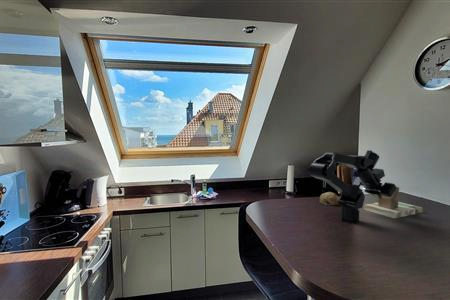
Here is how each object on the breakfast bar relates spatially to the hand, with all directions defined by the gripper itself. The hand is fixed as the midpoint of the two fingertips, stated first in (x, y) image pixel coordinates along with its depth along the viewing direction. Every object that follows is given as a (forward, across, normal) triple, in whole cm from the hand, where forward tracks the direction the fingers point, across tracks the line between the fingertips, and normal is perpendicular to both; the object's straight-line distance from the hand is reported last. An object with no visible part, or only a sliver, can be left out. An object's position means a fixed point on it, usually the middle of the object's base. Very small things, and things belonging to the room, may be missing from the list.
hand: (380, 197), depth 129 cm
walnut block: (+8, 0, -1) cm, 8 cm away
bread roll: (0, +24, +11) cm, 26 cm away
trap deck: (+12, 0, -2) cm, 13 cm away
